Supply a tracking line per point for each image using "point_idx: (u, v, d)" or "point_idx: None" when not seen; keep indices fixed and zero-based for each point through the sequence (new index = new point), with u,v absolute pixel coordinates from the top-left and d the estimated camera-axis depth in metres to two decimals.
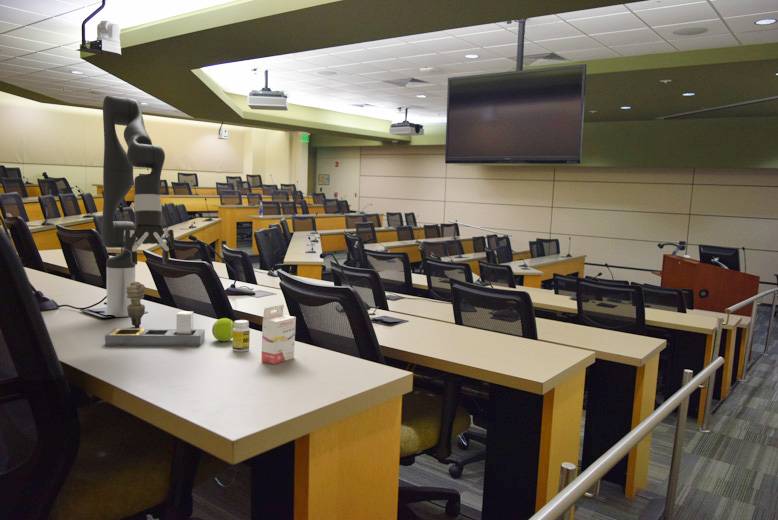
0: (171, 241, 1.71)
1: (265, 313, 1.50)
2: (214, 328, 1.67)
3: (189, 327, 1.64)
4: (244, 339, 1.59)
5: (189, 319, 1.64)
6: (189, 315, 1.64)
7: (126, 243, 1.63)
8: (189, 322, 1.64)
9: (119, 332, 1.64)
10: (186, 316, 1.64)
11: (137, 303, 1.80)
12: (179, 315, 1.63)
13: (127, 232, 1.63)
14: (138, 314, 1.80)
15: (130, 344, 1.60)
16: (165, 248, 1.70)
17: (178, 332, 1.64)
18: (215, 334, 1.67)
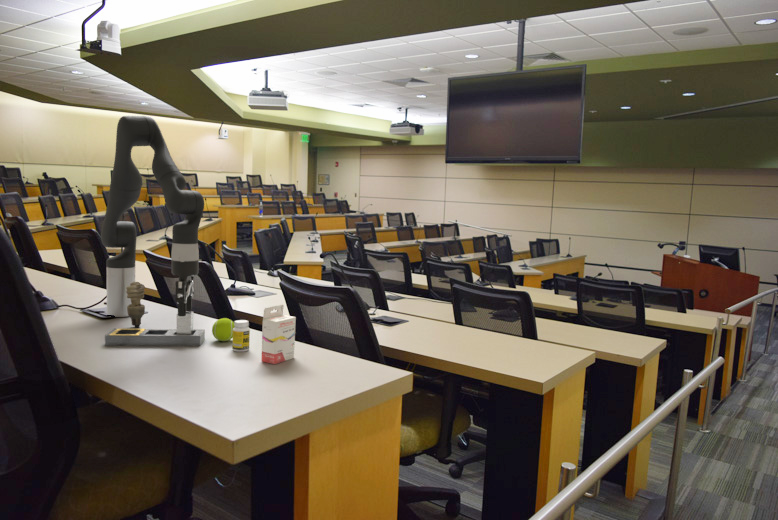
0: (193, 287, 1.71)
1: (265, 313, 1.50)
2: (214, 328, 1.67)
3: (189, 327, 1.64)
4: (244, 339, 1.59)
5: (189, 319, 1.64)
6: (189, 315, 1.64)
7: (184, 296, 1.58)
8: (189, 322, 1.64)
9: (119, 332, 1.64)
10: (186, 316, 1.64)
11: (137, 303, 1.80)
12: None
13: (185, 284, 1.58)
14: (138, 314, 1.80)
15: (130, 344, 1.60)
16: (192, 295, 1.69)
17: (178, 332, 1.64)
18: (215, 334, 1.67)
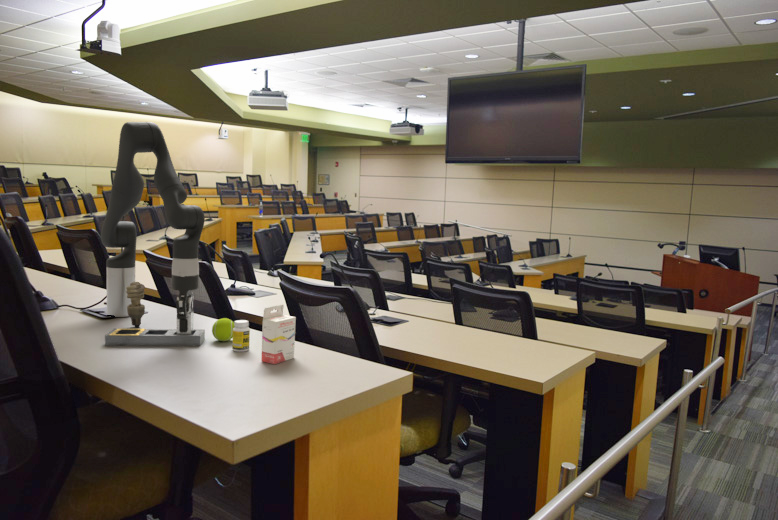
0: None
1: (265, 313, 1.50)
2: (214, 328, 1.67)
3: (189, 326, 1.64)
4: (244, 339, 1.59)
5: (189, 319, 1.64)
6: (189, 315, 1.64)
7: (185, 313, 1.60)
8: (189, 322, 1.64)
9: (119, 332, 1.64)
10: None
11: (137, 303, 1.80)
12: None
13: (185, 303, 1.59)
14: (138, 314, 1.80)
15: (130, 344, 1.60)
16: None
17: (178, 332, 1.64)
18: (215, 334, 1.67)
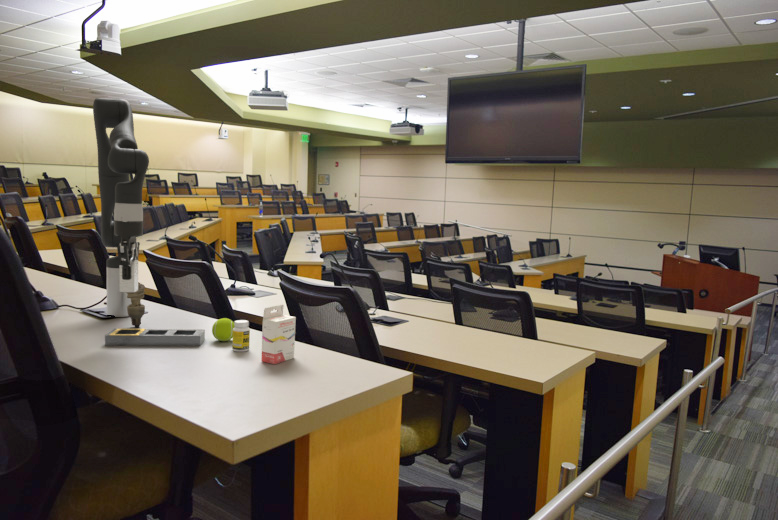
0: (137, 253, 1.66)
1: (265, 313, 1.50)
2: (214, 328, 1.67)
3: (133, 274, 1.60)
4: (244, 339, 1.59)
5: (132, 266, 1.60)
6: (132, 262, 1.60)
7: (128, 259, 1.56)
8: (132, 269, 1.60)
9: (119, 332, 1.64)
10: None
11: (137, 303, 1.80)
12: None
13: (127, 249, 1.55)
14: (139, 314, 1.80)
15: (130, 344, 1.60)
16: None
17: (121, 279, 1.60)
18: (215, 334, 1.67)
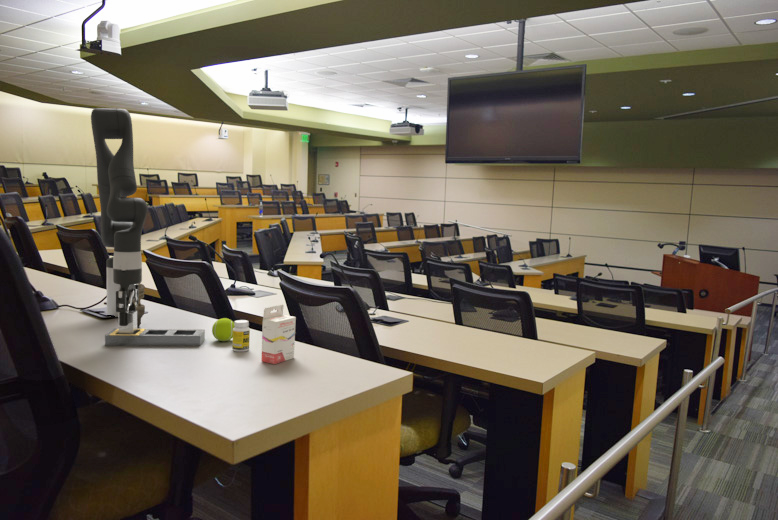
0: (137, 296, 1.68)
1: (265, 313, 1.50)
2: (214, 328, 1.67)
3: (131, 326, 1.61)
4: (244, 339, 1.59)
5: (131, 318, 1.61)
6: (131, 314, 1.61)
7: (125, 306, 1.56)
8: (131, 321, 1.61)
9: None
10: (128, 315, 1.61)
11: None
12: None
13: (125, 294, 1.56)
14: (138, 314, 1.80)
15: (130, 344, 1.60)
16: (135, 304, 1.67)
17: (120, 332, 1.61)
18: (215, 334, 1.67)
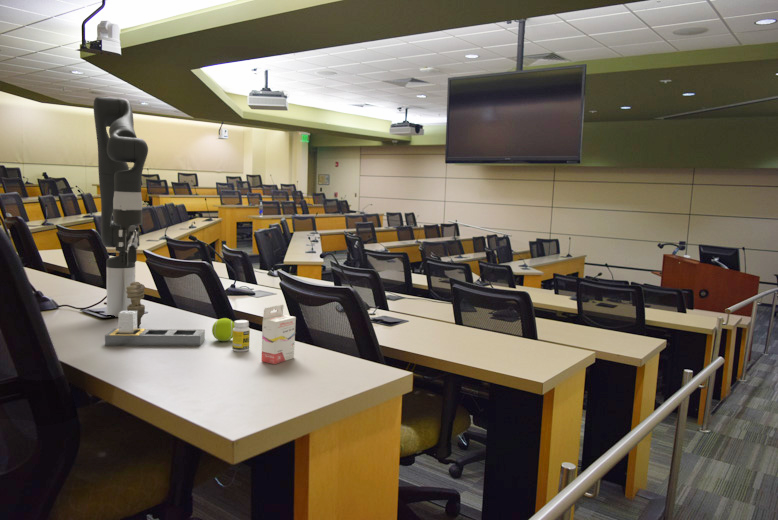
0: (138, 239, 1.67)
1: (265, 313, 1.50)
2: (214, 328, 1.67)
3: (131, 326, 1.61)
4: (244, 339, 1.59)
5: (131, 318, 1.61)
6: (131, 314, 1.61)
7: (125, 244, 1.55)
8: (131, 321, 1.61)
9: None
10: (128, 315, 1.61)
11: (137, 303, 1.80)
12: (121, 314, 1.61)
13: (125, 233, 1.55)
14: (138, 314, 1.80)
15: (130, 344, 1.60)
16: (136, 246, 1.66)
17: (120, 332, 1.61)
18: (215, 334, 1.67)
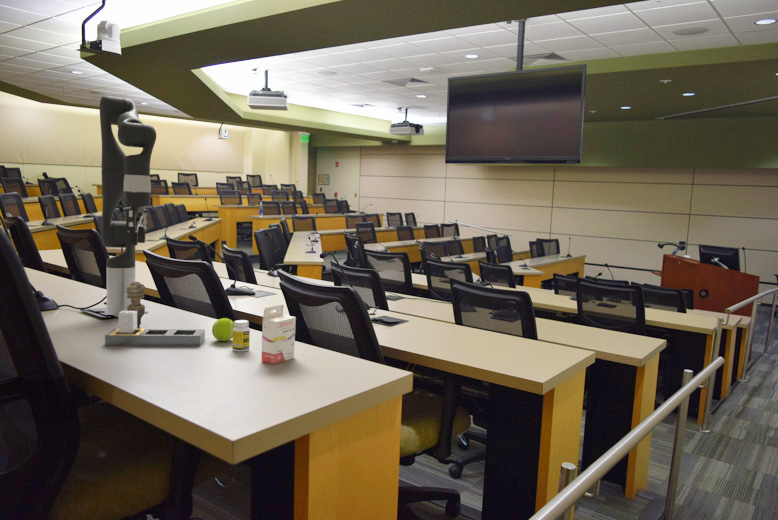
0: (146, 221, 1.76)
1: (265, 313, 1.50)
2: (214, 328, 1.67)
3: (131, 326, 1.61)
4: (244, 339, 1.59)
5: (131, 318, 1.61)
6: (131, 314, 1.61)
7: (135, 224, 1.63)
8: (131, 321, 1.61)
9: None
10: (128, 315, 1.61)
11: (137, 303, 1.80)
12: (121, 314, 1.61)
13: (135, 213, 1.63)
14: (138, 314, 1.80)
15: (130, 344, 1.60)
16: (145, 228, 1.74)
17: (120, 332, 1.61)
18: (215, 334, 1.67)
